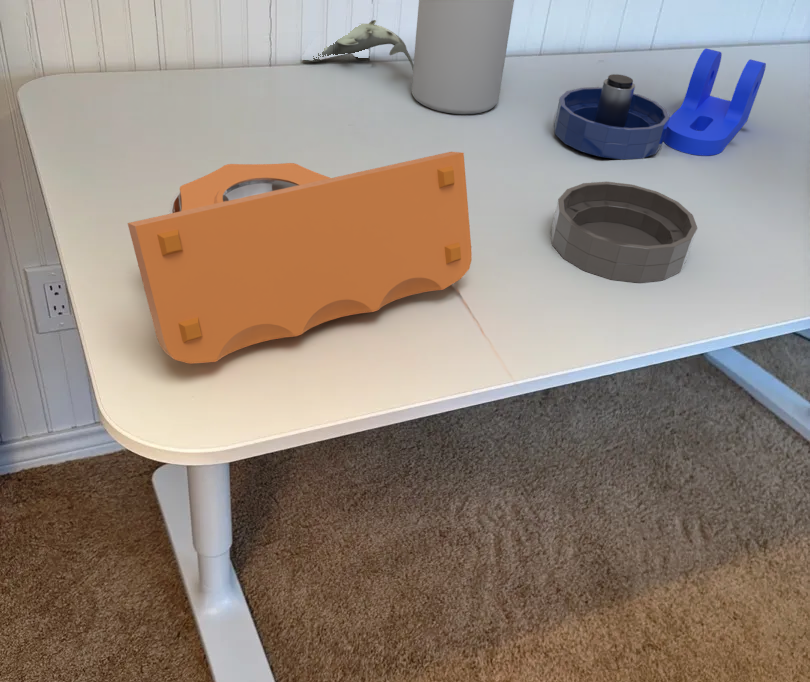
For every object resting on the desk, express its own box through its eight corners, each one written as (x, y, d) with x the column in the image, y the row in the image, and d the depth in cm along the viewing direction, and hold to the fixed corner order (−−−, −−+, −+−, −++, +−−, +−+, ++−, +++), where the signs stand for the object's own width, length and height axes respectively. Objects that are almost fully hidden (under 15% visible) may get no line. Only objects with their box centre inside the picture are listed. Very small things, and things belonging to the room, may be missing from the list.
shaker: (612, 129, 113) (626, 72, 108) (626, 141, 110) (642, 83, 105) (586, 130, 112) (599, 73, 107) (600, 143, 109) (614, 84, 104)
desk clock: (466, 146, 73) (351, 137, 89) (135, 219, 59) (68, 193, 75) (477, 280, 78) (366, 250, 94) (175, 376, 64) (104, 322, 80)
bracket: (691, 105, 124) (711, 43, 118) (747, 121, 121) (769, 57, 115) (653, 143, 112) (673, 75, 106) (714, 161, 109) (737, 92, 103)
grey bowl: (641, 214, 96) (651, 178, 93) (709, 280, 86) (723, 241, 83) (529, 223, 92) (536, 186, 89) (587, 293, 82) (597, 253, 79)
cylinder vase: (393, 92, 118) (407, -112, 102) (457, 77, 125) (480, -117, 108) (451, 123, 111) (476, -91, 95) (516, 106, 118) (550, -97, 101)
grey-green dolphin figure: (296, 75, 118) (312, 117, 125) (409, 49, 116) (420, 93, 122) (297, 15, 126) (312, 57, 132) (404, -11, 123) (414, 34, 130)
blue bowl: (626, 117, 118) (635, 85, 115) (679, 160, 108) (689, 127, 105) (536, 121, 114) (542, 88, 111) (582, 166, 104) (590, 131, 101)
